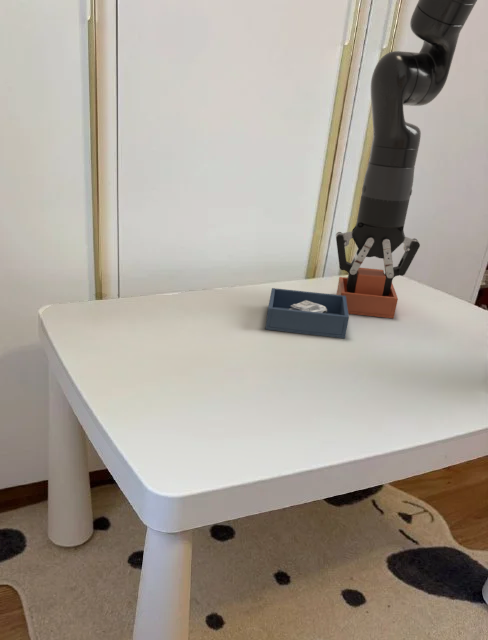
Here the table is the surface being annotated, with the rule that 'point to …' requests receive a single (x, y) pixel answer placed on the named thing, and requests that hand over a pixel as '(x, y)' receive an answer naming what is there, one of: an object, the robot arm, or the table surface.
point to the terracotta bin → (368, 302)
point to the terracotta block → (370, 281)
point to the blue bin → (307, 313)
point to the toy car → (309, 307)
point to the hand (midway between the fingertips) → (366, 295)
